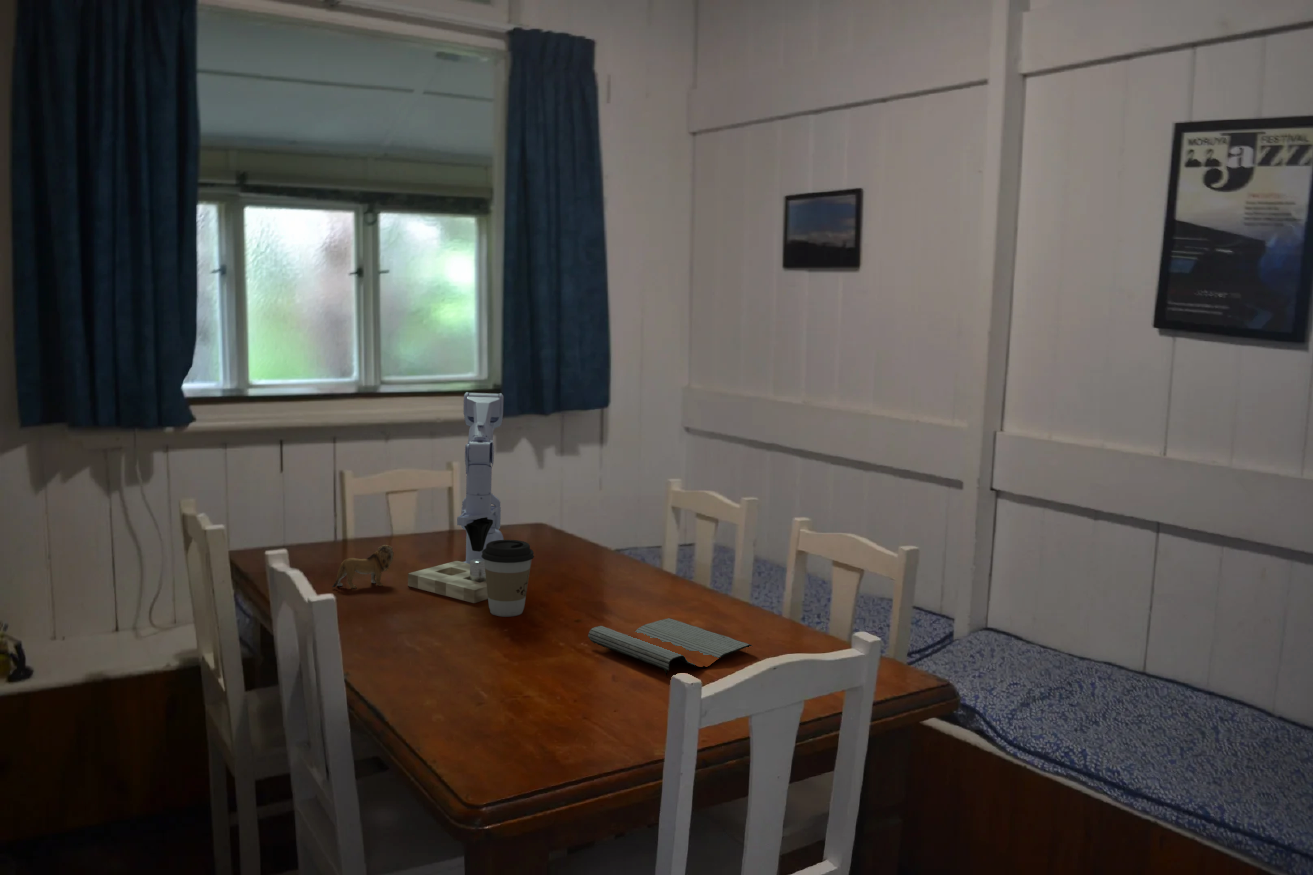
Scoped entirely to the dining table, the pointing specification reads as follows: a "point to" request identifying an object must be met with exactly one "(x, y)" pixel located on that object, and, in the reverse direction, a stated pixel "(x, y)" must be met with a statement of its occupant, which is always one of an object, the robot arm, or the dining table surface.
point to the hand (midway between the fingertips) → (477, 550)
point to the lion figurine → (366, 566)
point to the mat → (666, 632)
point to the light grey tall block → (477, 570)
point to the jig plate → (449, 582)
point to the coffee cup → (507, 575)
